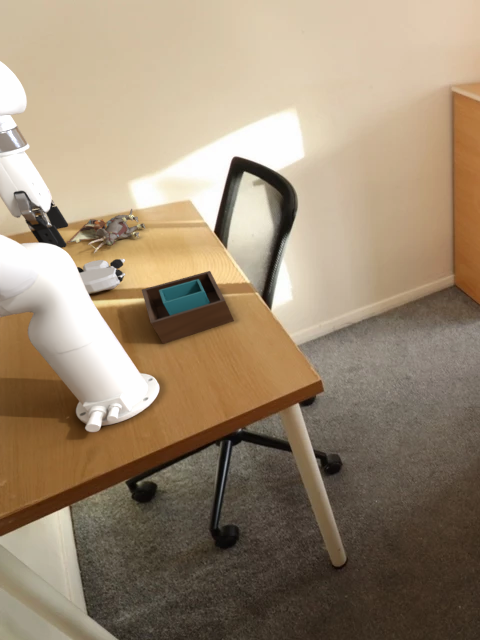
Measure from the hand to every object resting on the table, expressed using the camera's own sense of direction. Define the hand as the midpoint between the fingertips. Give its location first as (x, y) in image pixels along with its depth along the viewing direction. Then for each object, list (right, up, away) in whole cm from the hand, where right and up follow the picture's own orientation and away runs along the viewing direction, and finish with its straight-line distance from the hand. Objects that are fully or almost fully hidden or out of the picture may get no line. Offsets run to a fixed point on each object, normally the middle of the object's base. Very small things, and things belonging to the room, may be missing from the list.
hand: (57, 237), depth 87 cm
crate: (+11, -13, +21) cm, 27 cm away
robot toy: (-18, -5, +30) cm, 36 cm away
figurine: (-32, +10, +48) cm, 59 cm away
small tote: (+11, -13, +21) cm, 27 cm away
